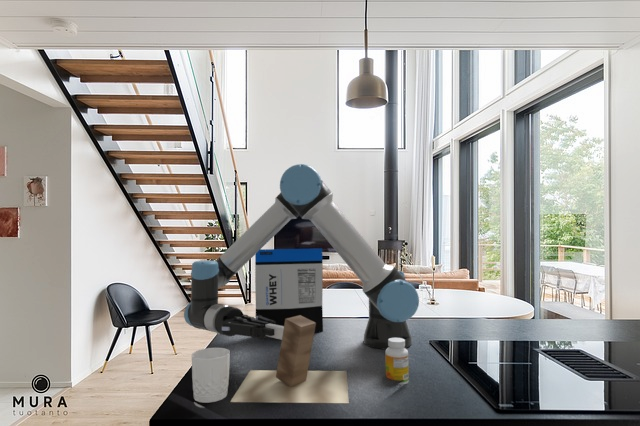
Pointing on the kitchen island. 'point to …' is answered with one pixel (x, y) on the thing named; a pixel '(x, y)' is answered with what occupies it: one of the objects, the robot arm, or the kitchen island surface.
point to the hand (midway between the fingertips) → (286, 333)
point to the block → (295, 350)
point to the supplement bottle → (397, 360)
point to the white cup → (210, 374)
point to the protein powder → (289, 285)
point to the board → (293, 388)
